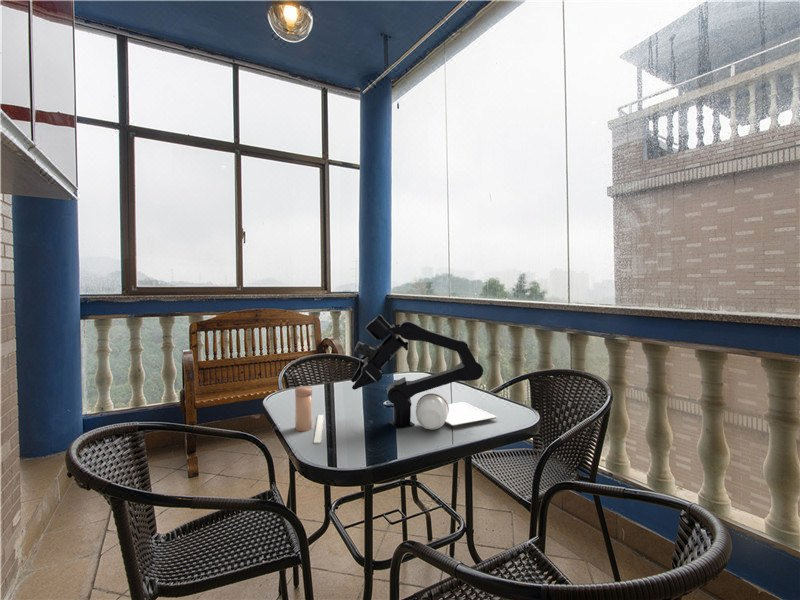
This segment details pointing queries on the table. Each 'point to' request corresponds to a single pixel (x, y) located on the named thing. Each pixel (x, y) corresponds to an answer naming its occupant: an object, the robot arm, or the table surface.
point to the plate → (466, 414)
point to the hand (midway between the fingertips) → (352, 384)
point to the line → (319, 429)
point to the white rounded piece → (432, 411)
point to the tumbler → (303, 408)
